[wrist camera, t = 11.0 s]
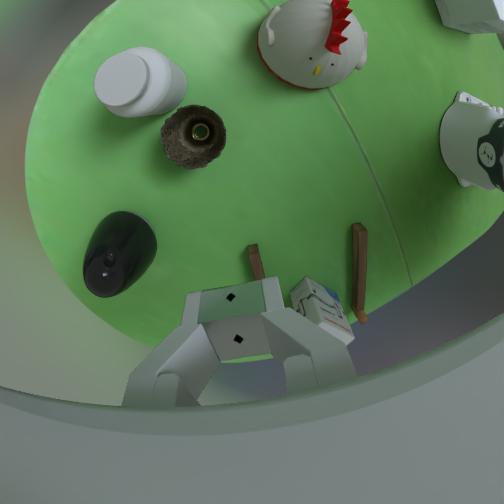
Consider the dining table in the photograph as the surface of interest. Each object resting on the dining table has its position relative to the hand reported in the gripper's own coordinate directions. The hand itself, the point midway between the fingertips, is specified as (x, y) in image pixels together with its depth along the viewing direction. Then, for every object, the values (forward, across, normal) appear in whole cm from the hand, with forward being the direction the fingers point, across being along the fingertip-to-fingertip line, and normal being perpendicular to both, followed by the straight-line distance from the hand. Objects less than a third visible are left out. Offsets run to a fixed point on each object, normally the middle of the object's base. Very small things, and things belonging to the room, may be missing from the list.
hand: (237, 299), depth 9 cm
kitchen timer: (+31, -13, -14) cm, 37 cm away
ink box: (+31, -8, +28) cm, 43 cm away
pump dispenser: (+31, +19, +8) cm, 37 cm away
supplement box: (+31, -45, -25) cm, 60 cm away
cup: (+31, +4, -4) cm, 32 cm away
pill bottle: (+31, +8, -12) cm, 34 cm away
